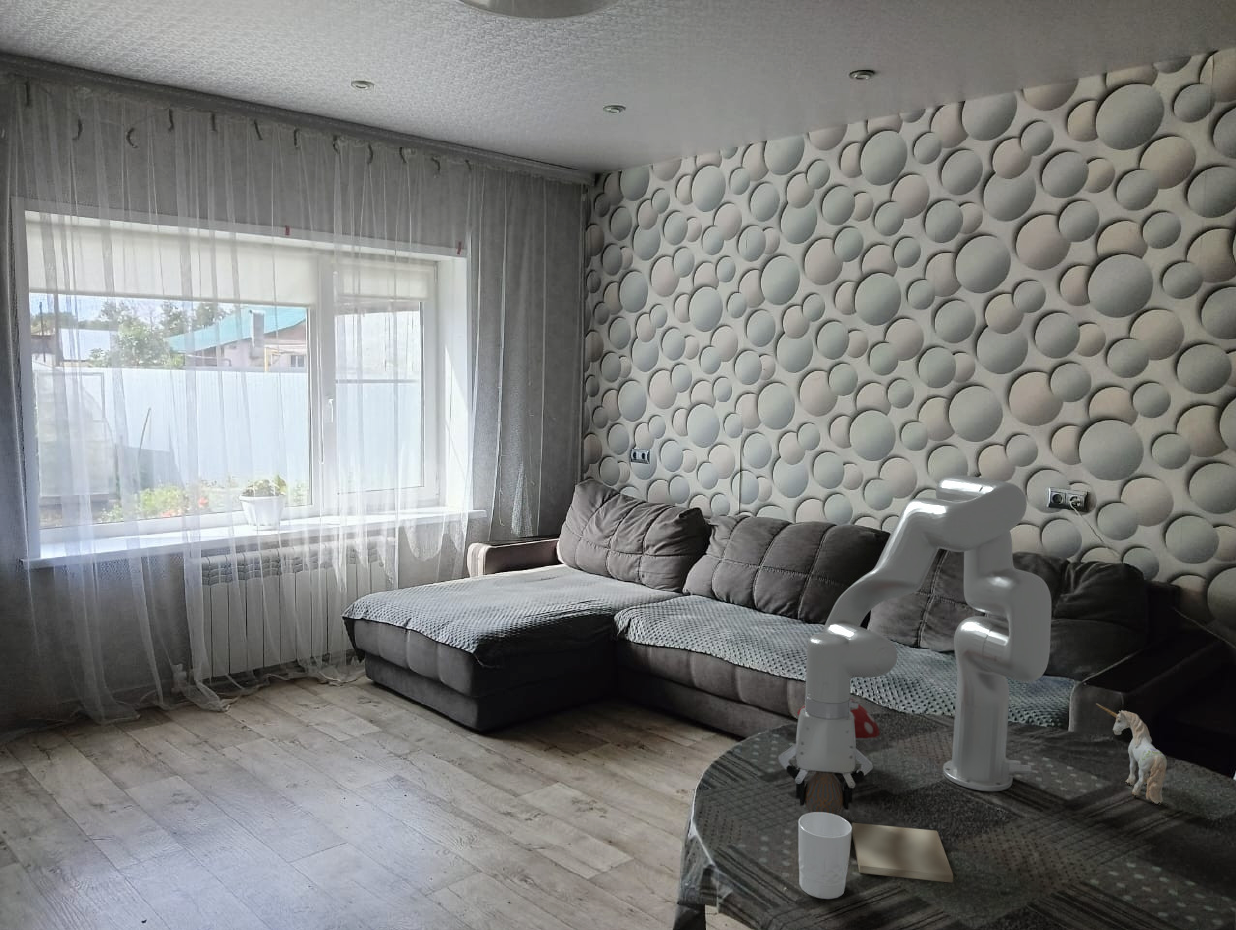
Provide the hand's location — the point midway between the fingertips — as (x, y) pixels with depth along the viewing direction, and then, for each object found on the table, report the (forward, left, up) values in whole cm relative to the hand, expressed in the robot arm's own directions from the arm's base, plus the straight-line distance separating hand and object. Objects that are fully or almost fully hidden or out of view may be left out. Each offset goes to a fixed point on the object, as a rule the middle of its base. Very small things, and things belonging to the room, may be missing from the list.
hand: (823, 803), depth 162 cm
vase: (0, 0, -3) cm, 3 cm away
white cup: (+1, +23, -3) cm, 23 cm away
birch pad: (-12, +10, -3) cm, 16 cm away
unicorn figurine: (-58, -24, -3) cm, 62 cm away
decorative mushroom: (-4, -21, -3) cm, 21 cm away
